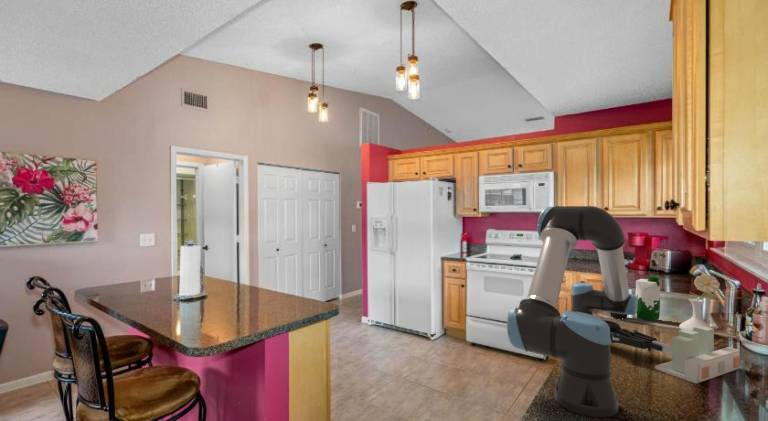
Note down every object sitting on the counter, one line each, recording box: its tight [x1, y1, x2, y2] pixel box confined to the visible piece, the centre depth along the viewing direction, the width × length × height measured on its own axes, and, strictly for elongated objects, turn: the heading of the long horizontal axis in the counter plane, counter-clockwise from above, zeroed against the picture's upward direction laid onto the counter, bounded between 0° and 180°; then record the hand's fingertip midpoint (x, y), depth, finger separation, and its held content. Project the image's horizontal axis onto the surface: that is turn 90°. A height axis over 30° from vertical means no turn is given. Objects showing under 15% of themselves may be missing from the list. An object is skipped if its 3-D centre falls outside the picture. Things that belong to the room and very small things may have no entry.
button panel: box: [654, 346, 741, 384], centre depth 123 cm, size 25×12×6 cm, turn 115°
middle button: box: [677, 329, 699, 357], centre depth 126 cm, size 4×4×10 cm
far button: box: [693, 326, 715, 356], centre depth 129 cm, size 4×4×10 cm
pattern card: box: [699, 352, 741, 383], centre depth 118 cm, size 22×1×5 cm, turn 115°
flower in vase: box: [678, 273, 721, 331], centre depth 157 cm, size 13×11×25 cm
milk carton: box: [635, 275, 661, 323], centre depth 178 cm, size 9×9×20 cm
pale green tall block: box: [671, 335, 694, 373], centre depth 119 cm, size 4×4×10 cm
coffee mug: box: [609, 312, 628, 320], centre depth 181 cm, size 12×9×10 cm
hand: (675, 351), depth 121 cm, fingers closed
